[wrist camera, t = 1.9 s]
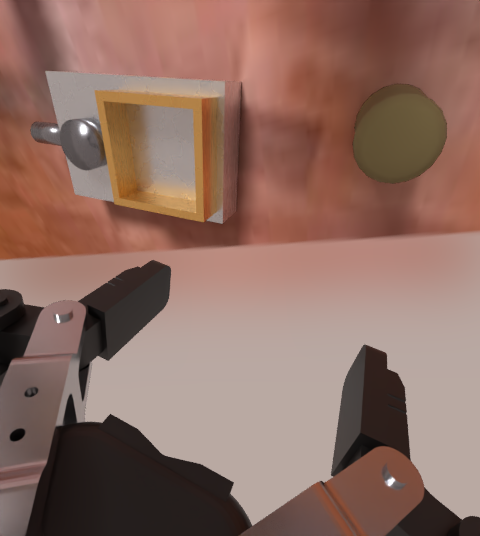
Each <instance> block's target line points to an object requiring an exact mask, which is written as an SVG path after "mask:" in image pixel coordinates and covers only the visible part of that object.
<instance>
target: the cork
mask: <svg viewBox="0 0 480 536" xmlns="http://www.w3.org/2000/svg"><path fill="white" fill-rule="evenodd" d="M354 128H355V135H354V140H353V152H354V158H355V160H356V162H357V164H358V166H359V168H360V169H361V170H362V171H363V172H364V173H365V174H366V175H367V176H368V177H370V178H372V179H374V180H376V181H379V182H384V183H392V184H393V183H399V182H406V181H408V180H411V179H413V178H415V177H417V176H420V175H421V174H422V173H423V172H425V171H426V170H427V169H428V168H430V167H431V166H432V165H433V163H434V162H435V161H436V159H437V158H438V156H439V155H440V154H441V152H442V149H443V146H444V144H445V141H446V138H447V123H446V120H445V117H444V115H443V112H442V110H441V109H440V108H439V107H438V106H437V105H436V104H435V102H434V101H433V100H431V99H429V98H428V97H427V96H426V95H425V94H424V93H423V92H422V91H421V90H420V89H418V88H416V87H413V86H411V85H409V84H394V85H391V86H387V87H384V88H382V89H380V90H379V91H377V92H375V93H374V94H372V95H371V96H370V97H369V98H368V99H367V101H366V102H365V103H364V104H363V105H362V107H361V109H360V111H359V113H358V115H357V118H356V123H355V127H354Z"/></svg>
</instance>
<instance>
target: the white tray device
mask: <svg viewBox="0 0 480 536" xmlns="http://www.w3.org/2000/svg"><path fill="white" fill-rule="evenodd" d="M45 72H46V76H47V80H48V85H49V89H50V93H51V97H52V101H53V105H54V109H55V113H56V117H57V122H58V124H54V123H46V122H34V123H33V124H32V126H31V135H32V137H33V138H34V140H35V141H37V142H39V143H45V144H51V145H58V146H62V148H63V151H64V153H65V155H66V159H67V163H68V167H69V171H70V175H71V179H72V183H73V187H74V191H75V194H76V195H81V196H86V197H91V198H96V199H101V200H106V201H111V202H114V204H115V205H120V206H125V207H130V208H135V209H140V210H145V211H150V212H155V213H160V214H165V215H170V216H175V217H180V218H185V219H190V220H195V221H200V222H205V221H211V222H216V223H221V224H223V223H224V222H225V221H226V220H227V219H228V218H229V217H230V216H232V215H233V214H234V213H235V212H236V205H237V180H238V156H239V131H240V106H241V82H239V81H222V80H205V79H188V78H172V77H155V76H138V75H121V74H104V73H87V72H66V71H45Z"/></svg>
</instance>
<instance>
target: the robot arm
mask: <svg viewBox="0 0 480 536" xmlns="http://www.w3.org/2000/svg"><path fill="white" fill-rule="evenodd" d="M170 277H171V268H170V267H169V266H167V265H165V264H162V263H160V262H157V261H154V260H152V261H150V262H148V263H147V264H145V265H144V266H142V267H141V268H140V267H135V268H132V269H128V270H125V271H124V272H122V273H121V274H119V275H118V276H116V278H113V279H112V280H110V281H108V283H105V284H104V285H102V286H101V287H100V288H98V289H96V290H95V291H93V292H92V293H90V294H89V295H87V296H85V297H84V298H83V299H81V300H79V301H78V302H77V301H72V300H64V301H58V302H55V303H52V304H50V305H48V306H47V307H45V308H44V307H37V306H31V305H25V304H24V303H23V299H22V295H21V294H20V293H19V292H17V291H14V290H7V289H3V290H0V536H480V518H479V517H475V516H470V517H466V518H464V519H463V520H462V519H460V518H459V517H458V516H457V515H455V514H454V513H453V512H452V511H450V510H449V509H448V508H447V507H445V506H444V505H443V504H442V503H440V502H439V501H438V500H437V499H435V498H434V497H433V496H432V495H431V494H430V493H429V492H428V491H427V490H426V489H425V487H424V484H423V480H422V478H421V475H420V474H419V472H418V470H417V469H416V467H415V466H414V465H413V464H412V462H411V460H410V449H409V436H408V424H407V415H406V412H407V411H406V404H405V401H406V398H405V387H404V385H403V384H402V381H401V379H400V377H399V376H398V374H397V373H395V372H393V371H390V370H388V369H387V354H386V353H385V352H382V351H380V350H377V349H375V348H372V347H370V346H367V345H363V347H362V348H361V350H360V352H359V354H358V355H357V357H356V359H355V361H354V363H353V365H352V366H351V368H350V370H349V372H348V374H347V376H346V379H345V382H344V386H343V391H342V399H341V406H340V413H339V421H338V428H337V436H336V442H335V450H334V457H333V465H332V471H331V476H333V478H331V479H330V480H328V481H327V482H325V483H323V482H322V481H320V482H317V483H316V484H314V485H312V486H311V487H309V488H308V489H306V490H305V491H303V492H302V493H300V494H299V495H297V496H296V497H294V498H293V499H291V500H290V501H288V502H287V503H286V504H284V505H283V506H281V507H280V508H278V509H277V510H275V511H274V512H272V513H271V514H269V515H268V516H266V517H265V518H264V519H262V520H261V521H259V522H258V523H256V524H255V525H253V526H252V524H251V522H250V520H249V518H248V516H247V515H246V513H245V511H244V510H243V508H242V507H241V505H240V504H239V503H238V502H237V500H236V499H235V498H234V497H233V496H232V495H231V494H230V492H231V489H232V486H233V483H234V482H232V481H230V480H228V479H226V478H225V477H223V476H221V475H219V474H217V473H216V472H214V471H212V470H210V469H208V468H206V467H205V466H203V465H201V464H197V463H193V462H189V461H184V460H180V459H176V458H171V457H167V456H164V455H162V454H161V453H160V452H159V451H158V450H157V449H156V448H155V447H154V446H153V445H152V443H151V442H150V441H149V440H148V439H147V438H146V437H145V436H144V435H143V434H142V433H141V432H140V431H139V430H138V429H137V428H135V427H133V426H131V425H129V424H128V423H126V422H124V421H122V420H120V419H118V418H117V417H115V416H113V415H111V414H110V415H109V416H108V417H107V418H106V419H105V421H104V422H103V423H99V422H85V408H86V401H87V395H88V388H89V382H90V375H91V369H92V360H93V359H94V358H96V356H100V357H102V358H104V359H106V360H110V359H111V358H112V357H113V356H114V355H115V354H116V353H117V352H118V351H119V350H120V349H121V348H122V347H123V346H124V345H125V344H127V342H129V341H130V340H131V339H132V338H133V337H134V336H135V335H136V334H137V333H138V332H139V331H140V330H141V329H142V328H143V327H145V326H146V325H147V323H149V322H150V321H151V320H152V319H153V318H154V317H155V316H156V315H157V314H158V313H159V312H160V311H161V310H162V309H163V308H164V307H165V306H166V303H167V302H168V299H169V291H170Z"/></svg>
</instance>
